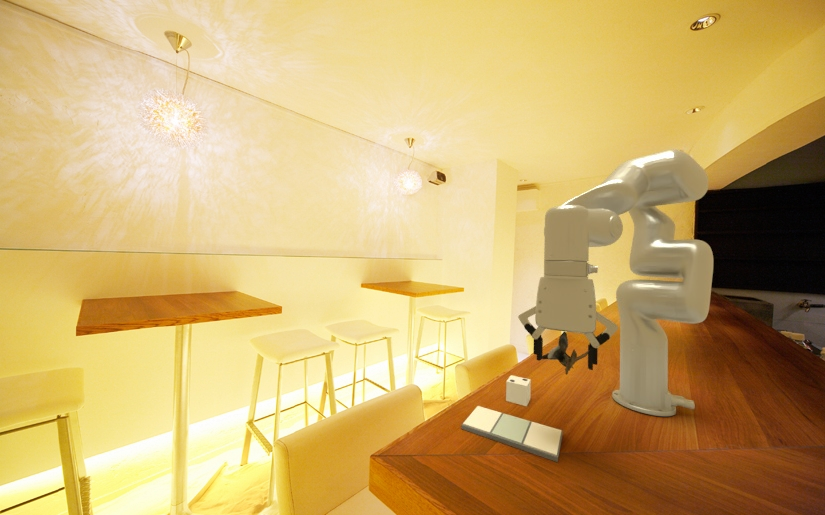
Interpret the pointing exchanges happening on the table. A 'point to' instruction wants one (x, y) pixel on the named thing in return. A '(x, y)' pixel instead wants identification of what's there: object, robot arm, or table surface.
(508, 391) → the die
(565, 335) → the eagle figurine
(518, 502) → the table surface
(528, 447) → the game board
